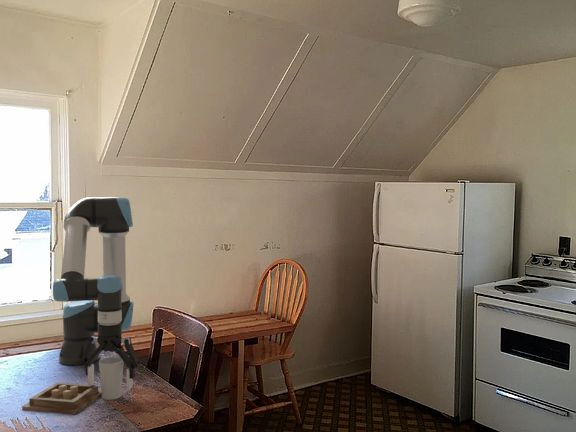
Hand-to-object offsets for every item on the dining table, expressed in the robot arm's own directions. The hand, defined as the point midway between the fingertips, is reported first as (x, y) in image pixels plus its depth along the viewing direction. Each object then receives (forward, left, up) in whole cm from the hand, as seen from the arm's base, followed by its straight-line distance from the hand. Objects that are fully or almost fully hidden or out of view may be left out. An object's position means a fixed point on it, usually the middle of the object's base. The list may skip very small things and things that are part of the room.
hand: (110, 386), depth 190 cm
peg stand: (+7, -12, -3) cm, 14 cm away
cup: (0, 0, -3) cm, 3 cm away
